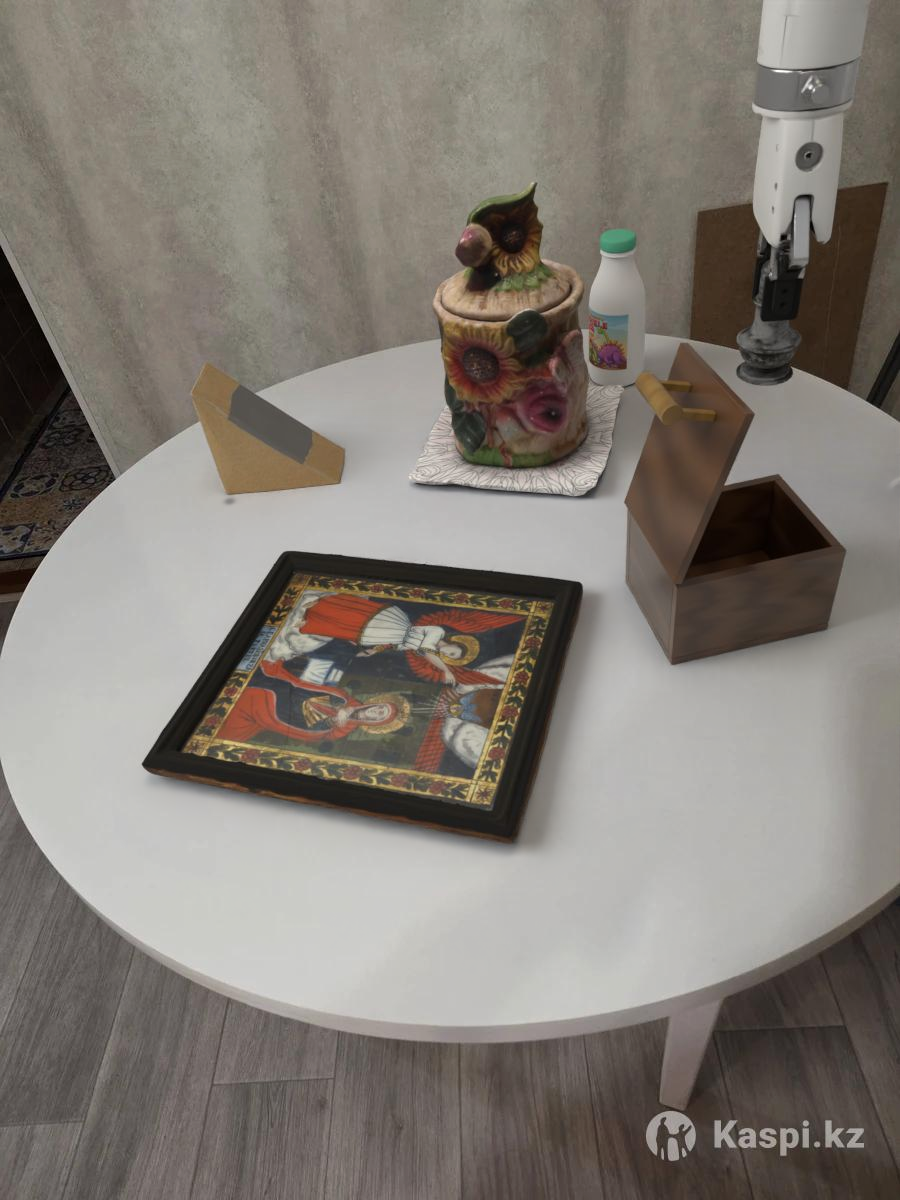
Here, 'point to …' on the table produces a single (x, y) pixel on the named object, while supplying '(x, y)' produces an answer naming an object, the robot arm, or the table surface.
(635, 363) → the milk bottle
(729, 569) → the bin
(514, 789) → the framed painting
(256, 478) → the sandwich container
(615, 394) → the cookie jar
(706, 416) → the bin lid
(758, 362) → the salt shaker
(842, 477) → the table surface
